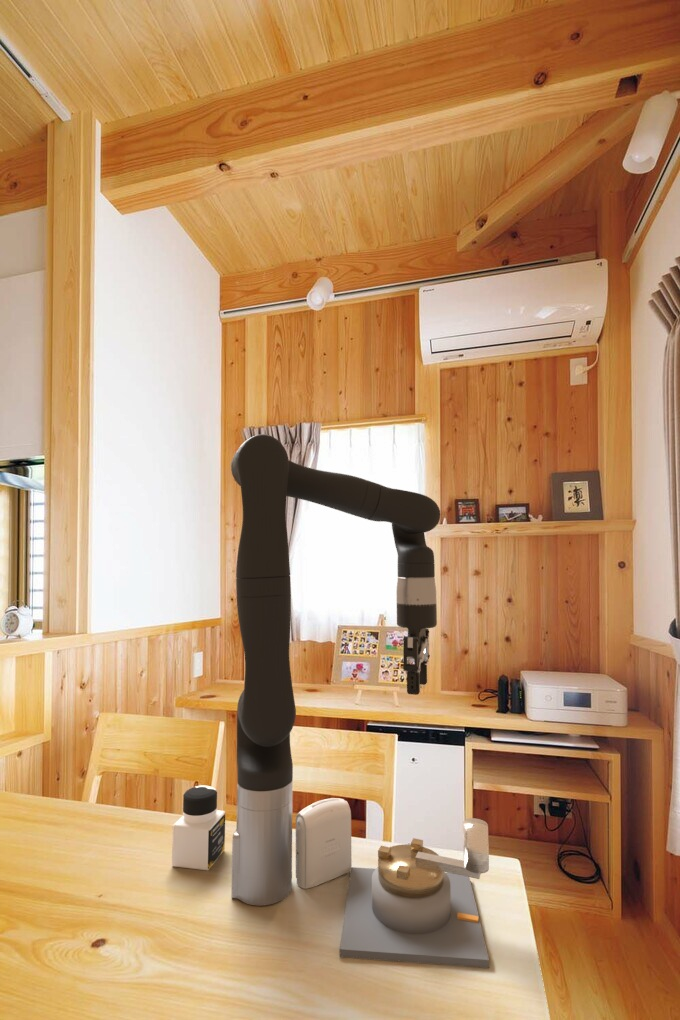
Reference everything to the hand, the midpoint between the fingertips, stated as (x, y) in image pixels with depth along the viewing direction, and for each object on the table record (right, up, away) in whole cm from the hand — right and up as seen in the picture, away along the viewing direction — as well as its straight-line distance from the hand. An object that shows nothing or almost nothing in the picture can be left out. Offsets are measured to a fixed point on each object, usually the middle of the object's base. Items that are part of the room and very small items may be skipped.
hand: (417, 688), depth 101 cm
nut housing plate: (-4, -28, -18) cm, 34 cm away
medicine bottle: (-40, -30, -3) cm, 50 cm away
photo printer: (-17, -30, -9) cm, 35 cm away
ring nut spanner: (0, -23, -19) cm, 30 cm away
